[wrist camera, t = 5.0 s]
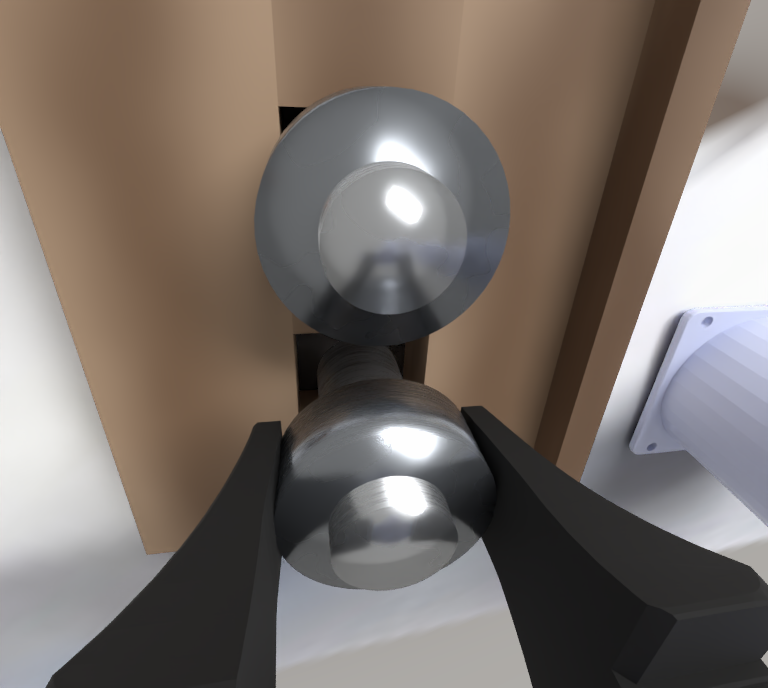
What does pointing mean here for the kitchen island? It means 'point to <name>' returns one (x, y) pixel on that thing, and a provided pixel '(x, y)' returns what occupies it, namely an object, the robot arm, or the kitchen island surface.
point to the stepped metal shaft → (378, 477)
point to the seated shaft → (381, 215)
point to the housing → (245, 170)
